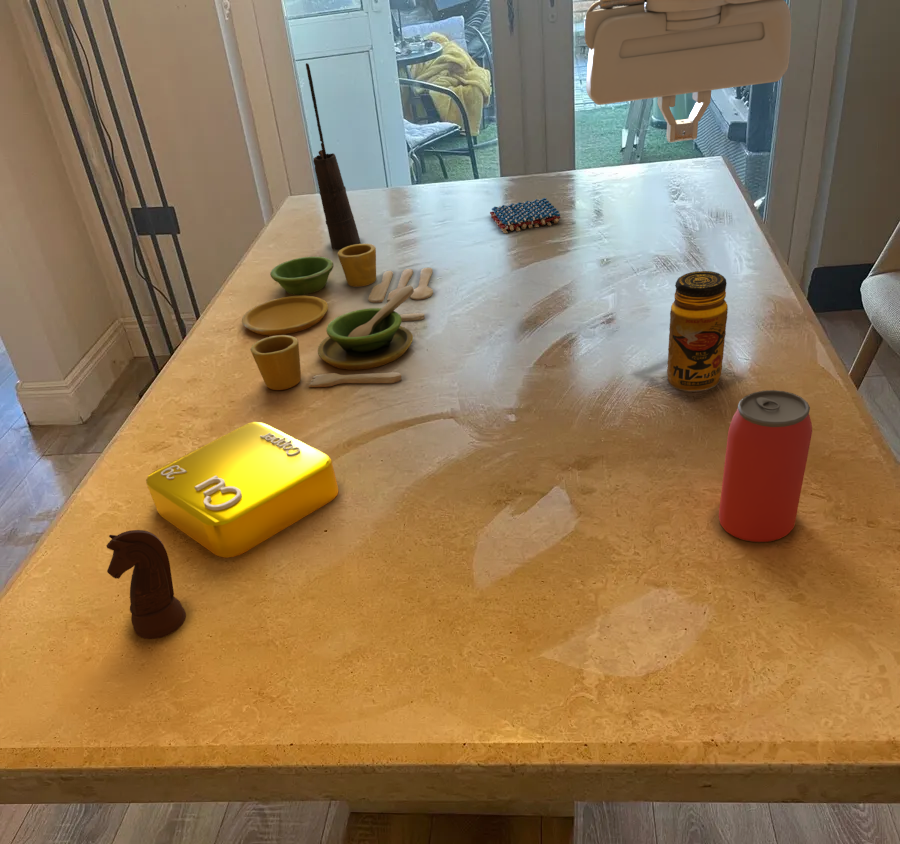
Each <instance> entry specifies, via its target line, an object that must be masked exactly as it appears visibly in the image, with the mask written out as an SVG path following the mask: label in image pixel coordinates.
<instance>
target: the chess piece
mask: <svg viewBox="0 0 900 844" xmlns="http://www.w3.org/2000/svg"><path fill="white" fill-rule="evenodd" d="M108 538H111V540H110V541H108V543H107V544H106V548H107V550H110V551H112V556H111V559H110V562H109V565H108V568H107V570H106V573H107V574H109V575H110V576H111V577H112V578H114V579H118V580H119V579H120V578H121V577H122V575H123V574H124V573H126V572H127V571H129V570H130V569H133V570H132V574H131V579H130V585H129V600H130V602H129V603H130V606H129V612H130V613H131V616H130V617H131V618H130V619H131V620H130V621H131V624H132V626H133V627H132V628H133V630H134V632H135V634H136V635H137V637H139V638H141V639H145V640H157V639H162V638H165V637H167V636H169V635H171V634H173V633H174V632H176V631H177V630H179V629H180V628H181V627H182V625H183V624H184V623H185V621H186V617H187V613H186V610H185V608H184V606H183V605H182V603H181V601H179V599H178V598H177V597H175V592H174V584H173V579H172V578H173V577H172V571H171V563H170V559H169V555H168V551H167V550H166V547H165V545H164V543H163V542H162V541H161V539H160V538H159V537H158V536H157V535H156V534H154V533H152V532H151V531H148V530H143V529H133V530H127V531H123V532H121V533H119V534H117V535H116V534H109V535H108Z"/></svg>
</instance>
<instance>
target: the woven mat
mask: <svg viewBox="0 0 900 844" xmlns="http://www.w3.org/2000/svg"><path fill="white" fill-rule="evenodd" d="M489 214H490V218H491V219H493V221H494V222H495V223H496V224H497V227H498V228H500V230H501V231H502V232H503V233H504V234H508V230H509V231H511V232H512V231H514V230H515V231H516V232H521V229H522V230H526V229H527V227H528V228H529V229H532V228H533V226H534V228H539V227H540V225H541V226H545V225H547V226H553V225H552V223H553V224H558V223H559V220H560V219H561V214H560V210H557V207H555V205H552V203H551V202H550V201H549V200H548V199H547V197H543V198H539V199H537V198H536V199H534V200H532V201H530V200H526V201H523V202H520V201H519V202H518V203H517V202H515V203H513V202H512V203H510V204H508V205H505V204H502V205H499V206H493V207H492V208H491V211H489ZM551 222H552V223H551Z"/></svg>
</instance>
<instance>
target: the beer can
mask: <svg viewBox="0 0 900 844" xmlns="http://www.w3.org/2000/svg"><path fill="white" fill-rule="evenodd" d="M810 410H811V407H810V403H809V402H808V401H807V400H806V399H805V398H803V397H801V396H800V395H798V394H795V393H793V392H789V391H785V390H778V389H777V390H776V389H775V390H774V389H770V390H760V391H759V390H758V391H754V392H751V393H749V394H747V395H745V396H744V397H742V399H740V400H739V401H738V404H737V408H736V411H735V412H734V414H733V416H732V418H731V421H730V424H729V427H728V430H727V431H728V432H727V439H726V449H725V457H724V465H723V475H722V483H721V491H720V502H719V509H718V521H719V525H720V526H721V527H722V528H723V529H724V531H725V532H726V533H728V534H729V535H730V536H732V537H734V538H737V539H739V540H741V541H744V542H751V543H771V542H775V541H778V540H780V539H782V538H784V537H786V536H788V535H789V534H790V533H791V531H792V530H793V529H794V528H795V524H796V521H797V516H798V515H797V514H798V509H799V504H800V499H801V493H802V488H803V483H804V479H805V472H806V468H807V463H808V456H809V451H810V446H811V441H812V436H813V423H812V420H811V416H810Z"/></svg>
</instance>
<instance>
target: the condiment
mask: <svg viewBox="0 0 900 844" xmlns="http://www.w3.org/2000/svg"><path fill="white" fill-rule="evenodd" d="M727 285H728V283H727V279H726V277H725V276H723V275H722V274H721V273H719V272H715V271H710V270H700V271H699V270H696V271H690V272H687V273H684V274H682V275H681V276H680V277H677V280H676V281H675V285H674V286H675V291H674V301H673V302H672V303H671V306H670V313H669V317H670V318H669V327H668V328H669V329H668V331H669V333H668V346H667V347H668V349H667V350H668V351H667V363H666V364H667V369H666V375H667V383H668V385H670V386H671V387H672V388H673V389H676V390H678V391H683V392H690V393H691V392H694V393H695V392H704V391H707V390H711V389H713V388H715V387H716V386H718V385H719V384H720V382H721V375H722V370H723V361H724V351H725V338H726V335H727V334H726V333H727V332H726V330H727V329H726V328H727V321H728V313H729V312H728V310H729V308H728V307H729V306H728V303H727V301H726V300H725V299H726V297H727V291H726V290H727V289H726V288H727Z"/></svg>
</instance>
